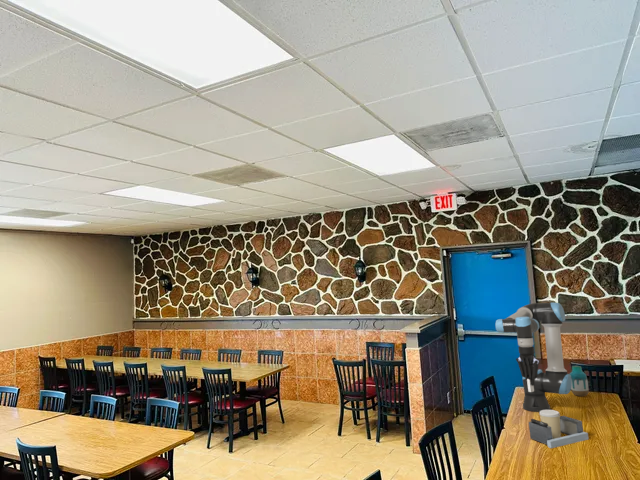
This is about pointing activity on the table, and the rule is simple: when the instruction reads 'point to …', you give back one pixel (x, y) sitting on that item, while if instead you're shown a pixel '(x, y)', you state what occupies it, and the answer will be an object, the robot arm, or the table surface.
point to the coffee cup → (552, 421)
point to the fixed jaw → (570, 425)
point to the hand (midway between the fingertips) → (531, 391)
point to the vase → (579, 381)
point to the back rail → (567, 440)
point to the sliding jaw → (540, 431)
